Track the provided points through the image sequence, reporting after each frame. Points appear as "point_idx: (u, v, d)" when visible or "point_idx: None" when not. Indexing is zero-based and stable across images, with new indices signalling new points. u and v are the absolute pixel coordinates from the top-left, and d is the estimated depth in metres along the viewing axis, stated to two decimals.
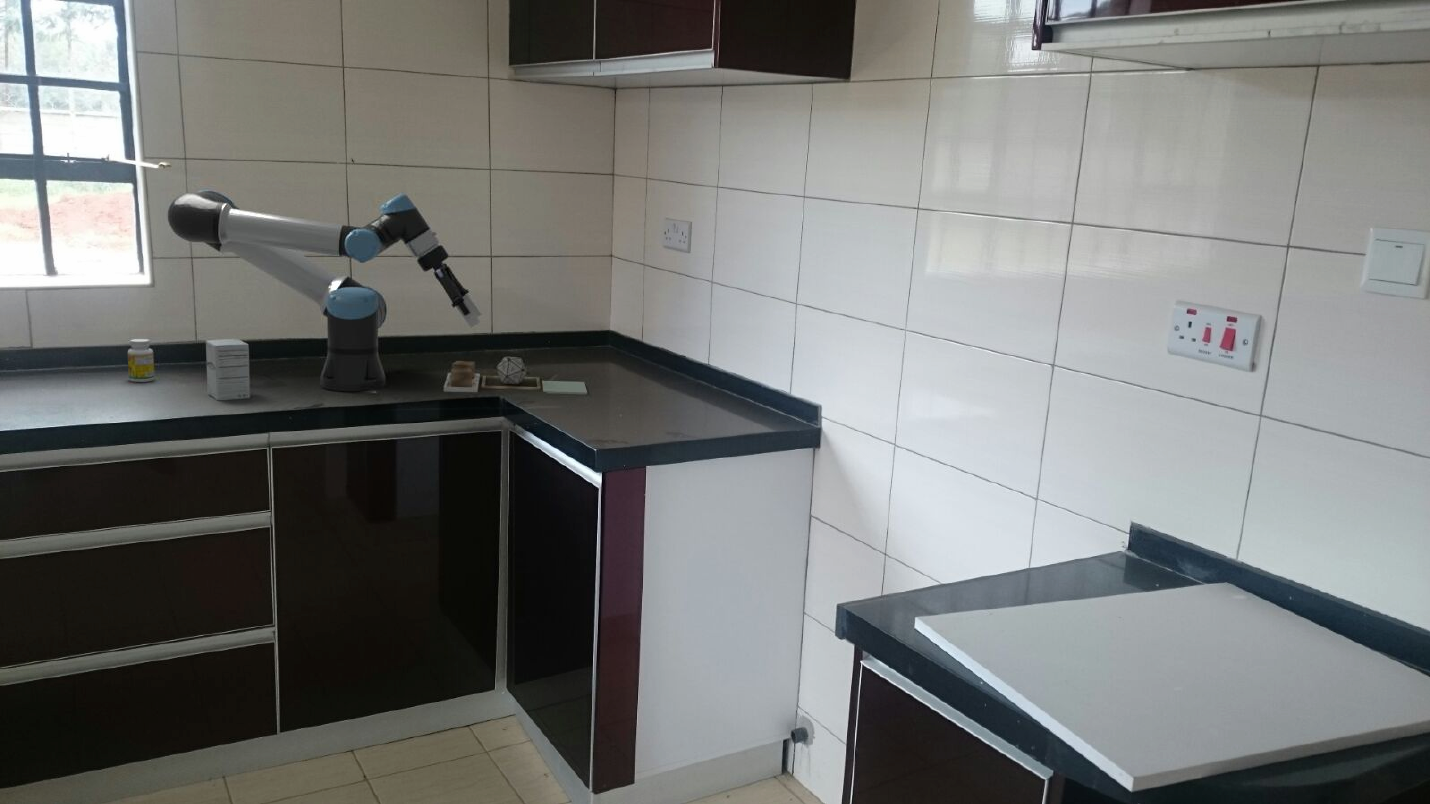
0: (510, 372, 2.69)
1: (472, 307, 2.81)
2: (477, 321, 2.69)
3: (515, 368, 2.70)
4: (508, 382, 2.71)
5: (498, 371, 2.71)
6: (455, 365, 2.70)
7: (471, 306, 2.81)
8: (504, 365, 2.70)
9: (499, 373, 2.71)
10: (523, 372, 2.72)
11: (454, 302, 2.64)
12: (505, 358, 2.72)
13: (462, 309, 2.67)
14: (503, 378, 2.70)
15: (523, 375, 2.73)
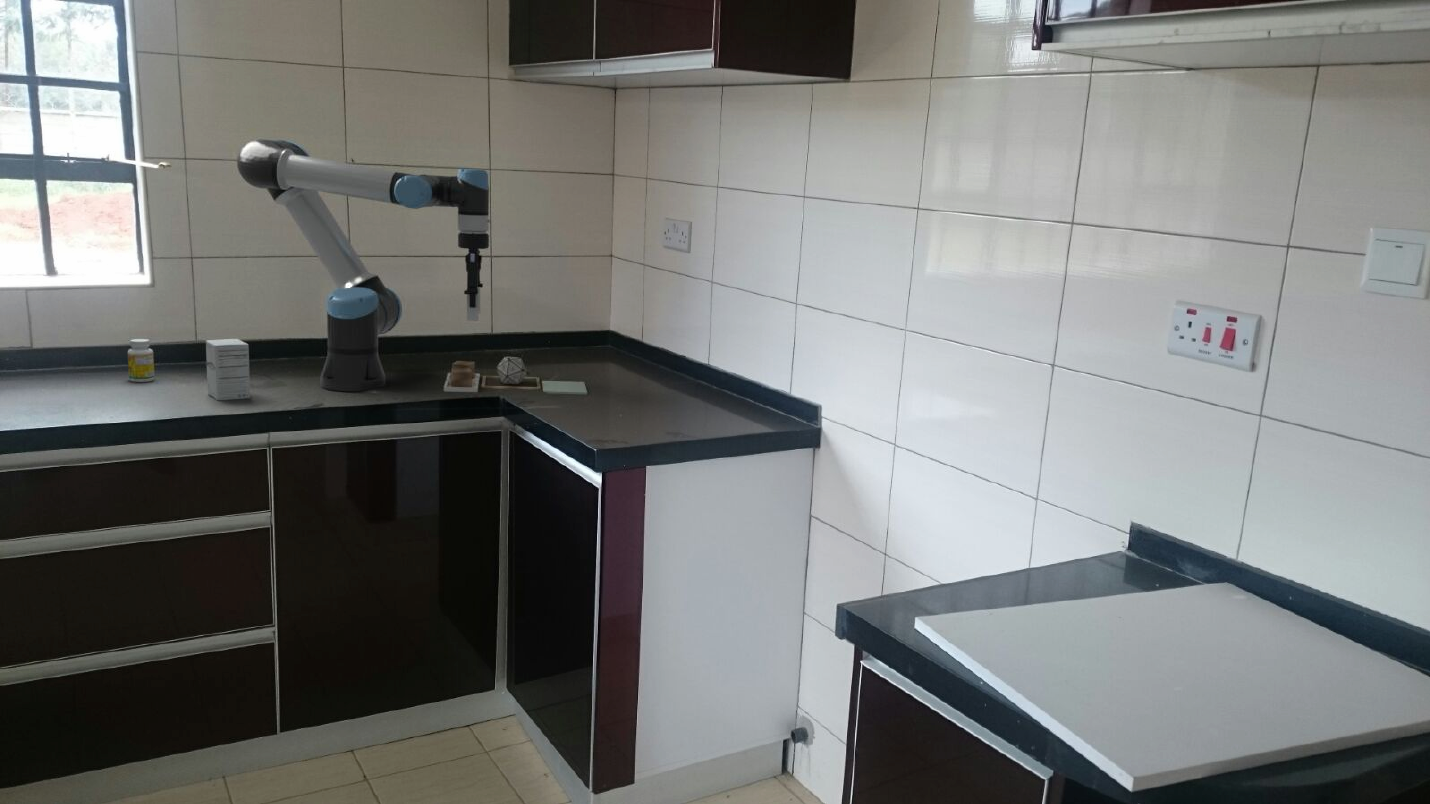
0: (510, 372, 2.69)
1: None
2: (476, 318, 2.63)
3: (515, 368, 2.70)
4: (508, 382, 2.71)
5: (498, 371, 2.71)
6: (455, 365, 2.70)
7: None
8: (504, 365, 2.70)
9: (499, 373, 2.71)
10: (523, 372, 2.72)
11: (468, 290, 2.58)
12: (505, 358, 2.72)
13: (471, 300, 2.61)
14: (503, 378, 2.70)
15: (523, 375, 2.73)
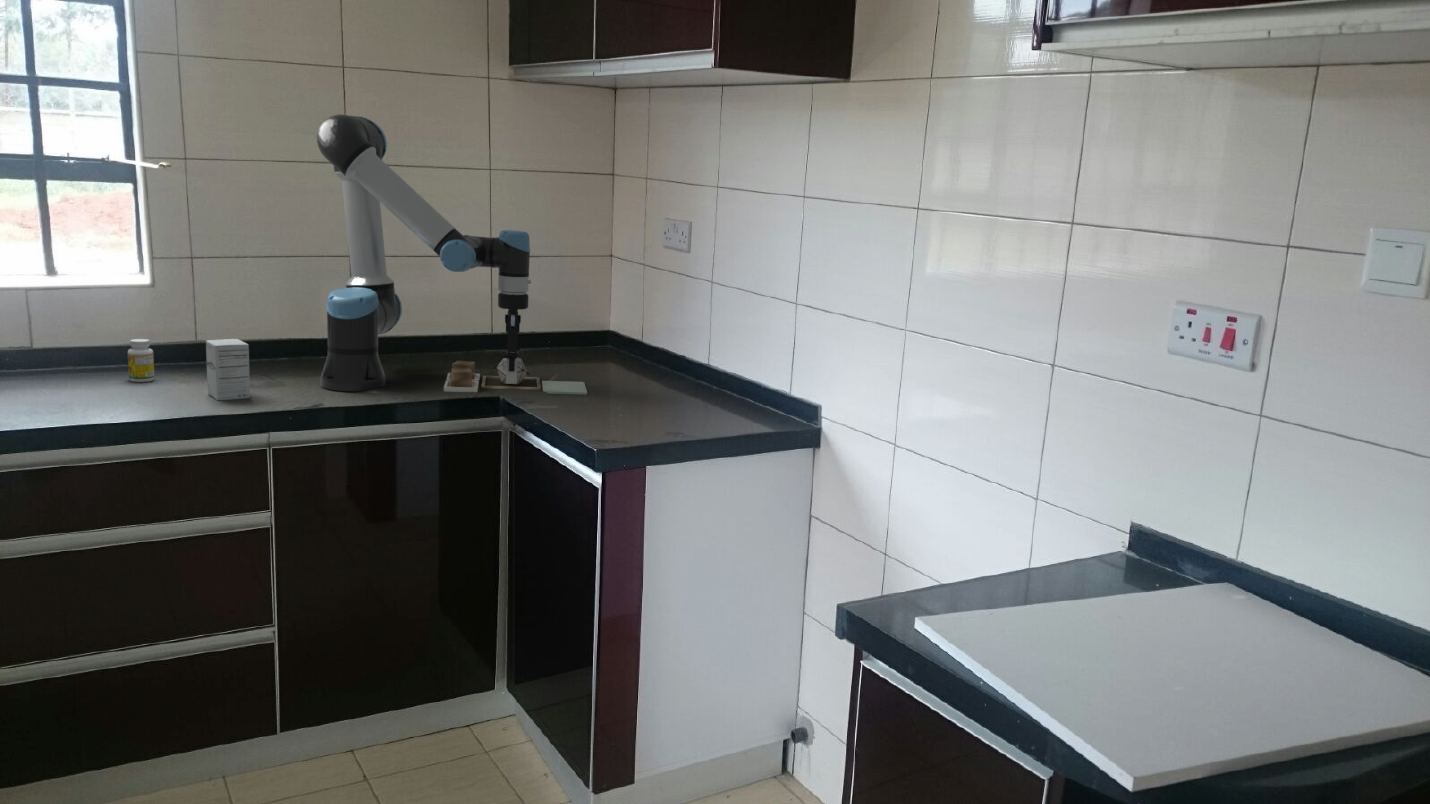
0: None
1: None
2: (515, 382, 2.68)
3: None
4: None
5: (498, 371, 2.71)
6: (455, 365, 2.70)
7: None
8: (504, 365, 2.70)
9: (499, 373, 2.71)
10: (523, 372, 2.71)
11: (508, 355, 2.63)
12: (505, 358, 2.72)
13: (510, 364, 2.66)
14: (503, 378, 2.70)
15: (523, 375, 2.73)
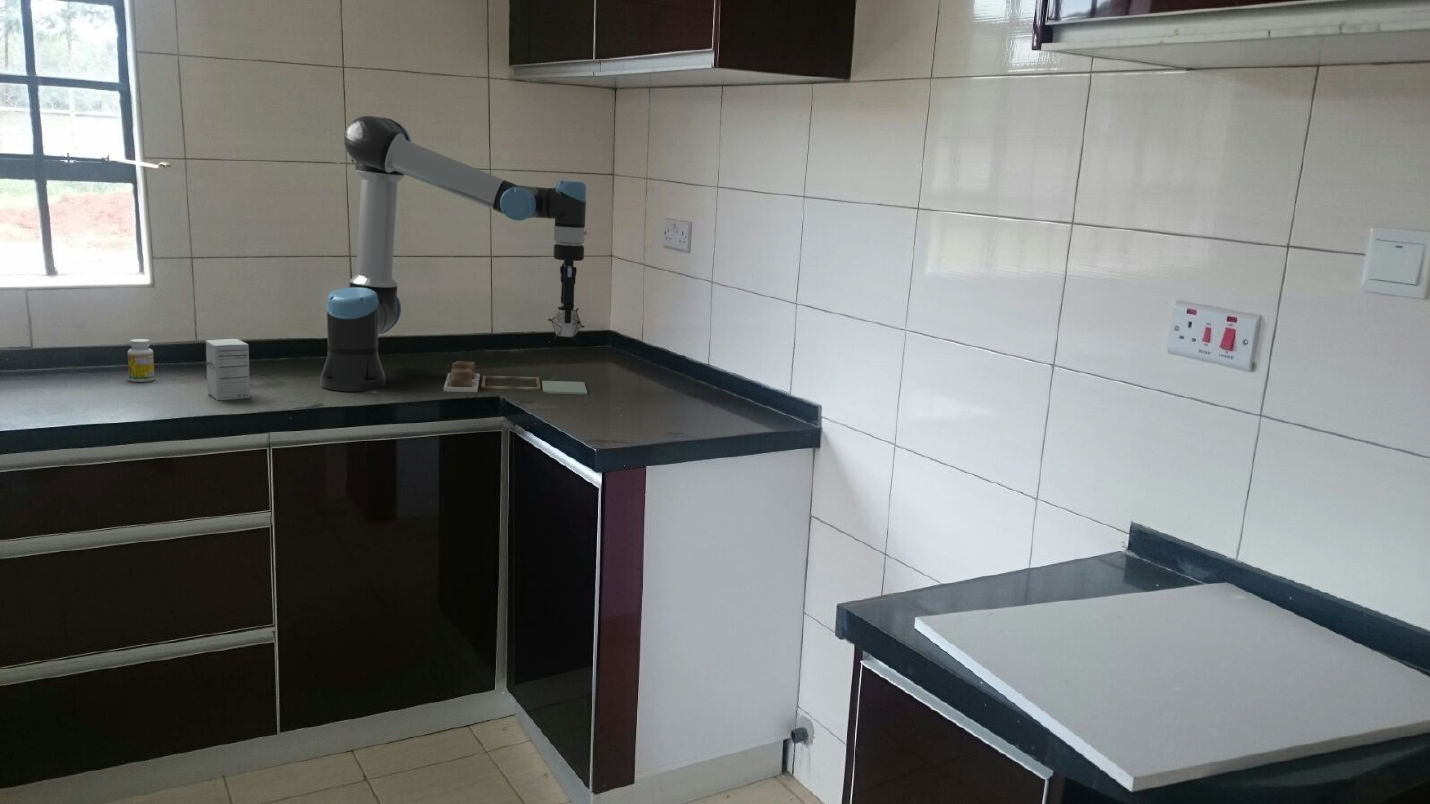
0: None
1: None
2: (570, 334, 2.66)
3: None
4: None
5: (553, 323, 2.68)
6: (455, 365, 2.70)
7: None
8: (560, 317, 2.67)
9: (554, 325, 2.68)
10: (578, 325, 2.69)
11: (565, 306, 2.61)
12: (560, 310, 2.69)
13: (566, 316, 2.63)
14: (558, 330, 2.68)
15: (578, 328, 2.70)
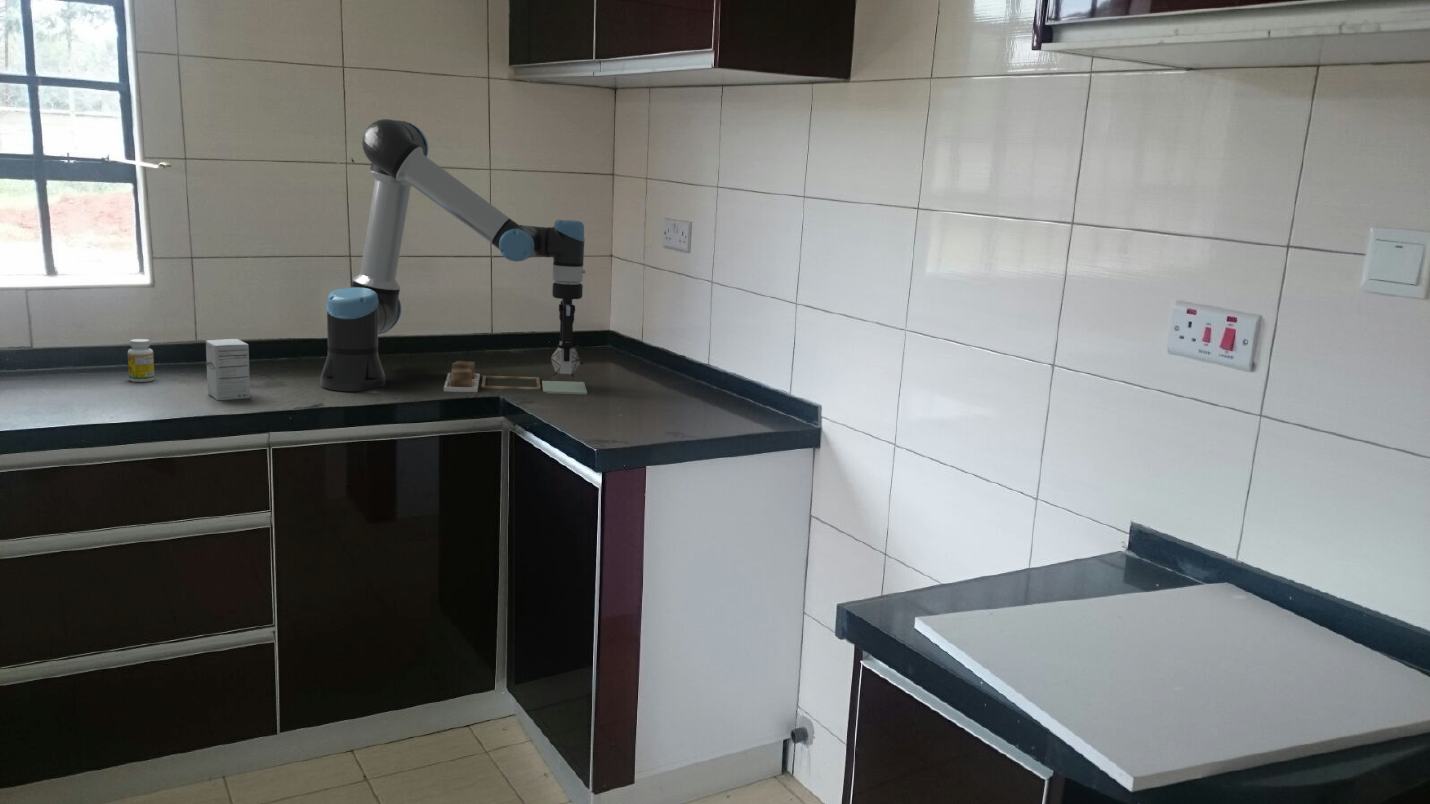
0: None
1: None
2: (569, 372, 2.68)
3: None
4: None
5: (552, 361, 2.70)
6: (455, 365, 2.70)
7: None
8: (559, 355, 2.69)
9: (553, 363, 2.70)
10: (577, 362, 2.71)
11: (564, 345, 2.63)
12: (559, 348, 2.71)
13: (565, 354, 2.66)
14: (557, 368, 2.70)
15: (577, 365, 2.72)
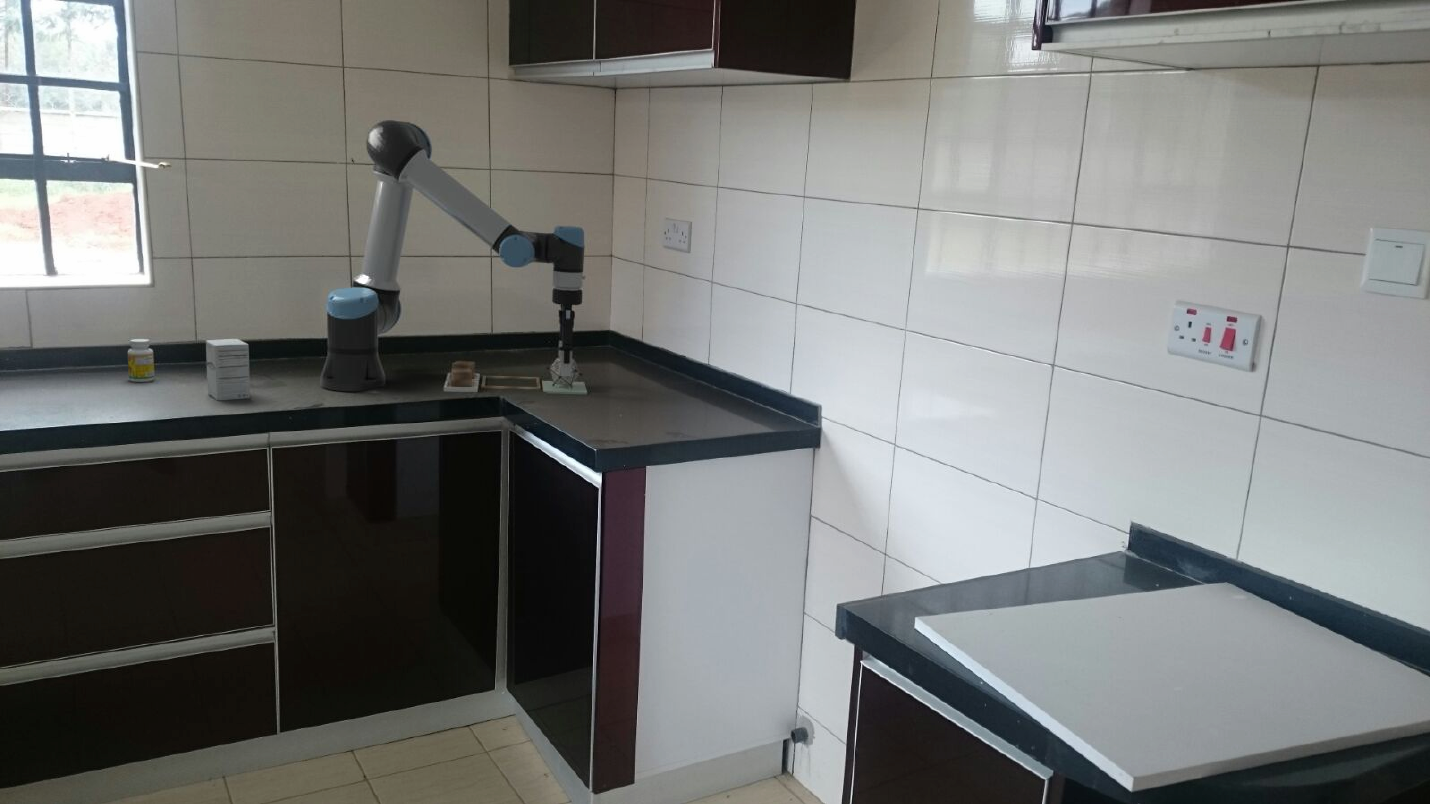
0: None
1: None
2: (569, 374, 2.66)
3: None
4: (561, 383, 2.72)
5: (551, 372, 2.71)
6: (455, 365, 2.70)
7: None
8: (557, 365, 2.70)
9: (552, 374, 2.71)
10: (576, 373, 2.72)
11: (564, 347, 2.61)
12: (558, 359, 2.72)
13: (565, 357, 2.64)
14: (556, 379, 2.71)
15: (576, 376, 2.73)
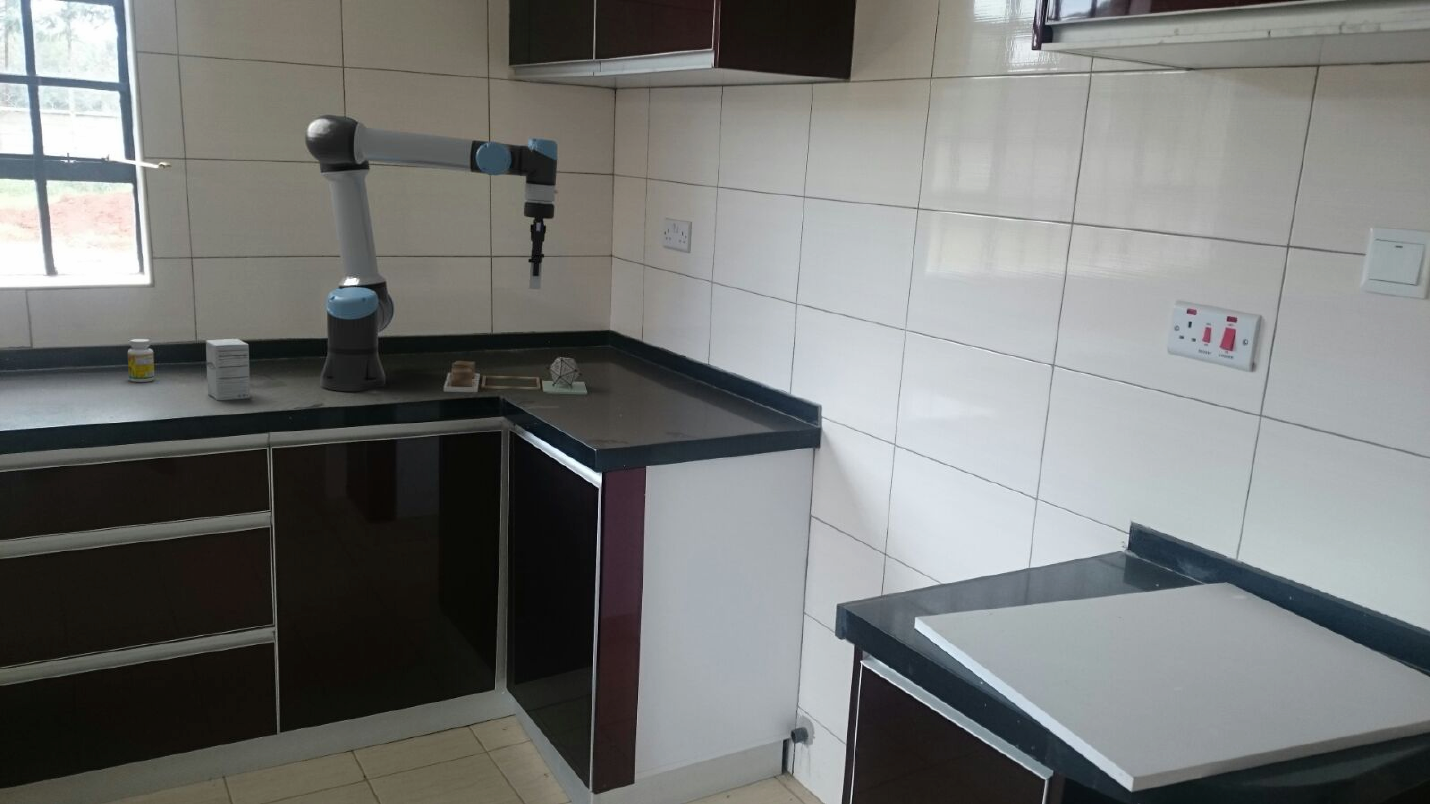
0: (562, 373, 2.70)
1: None
2: (538, 287, 2.66)
3: (568, 369, 2.70)
4: (561, 383, 2.72)
5: (551, 372, 2.71)
6: (455, 365, 2.70)
7: None
8: (557, 365, 2.70)
9: (552, 374, 2.71)
10: (576, 373, 2.72)
11: (533, 259, 2.61)
12: (558, 359, 2.72)
13: (534, 269, 2.63)
14: (556, 379, 2.71)
15: (576, 376, 2.73)
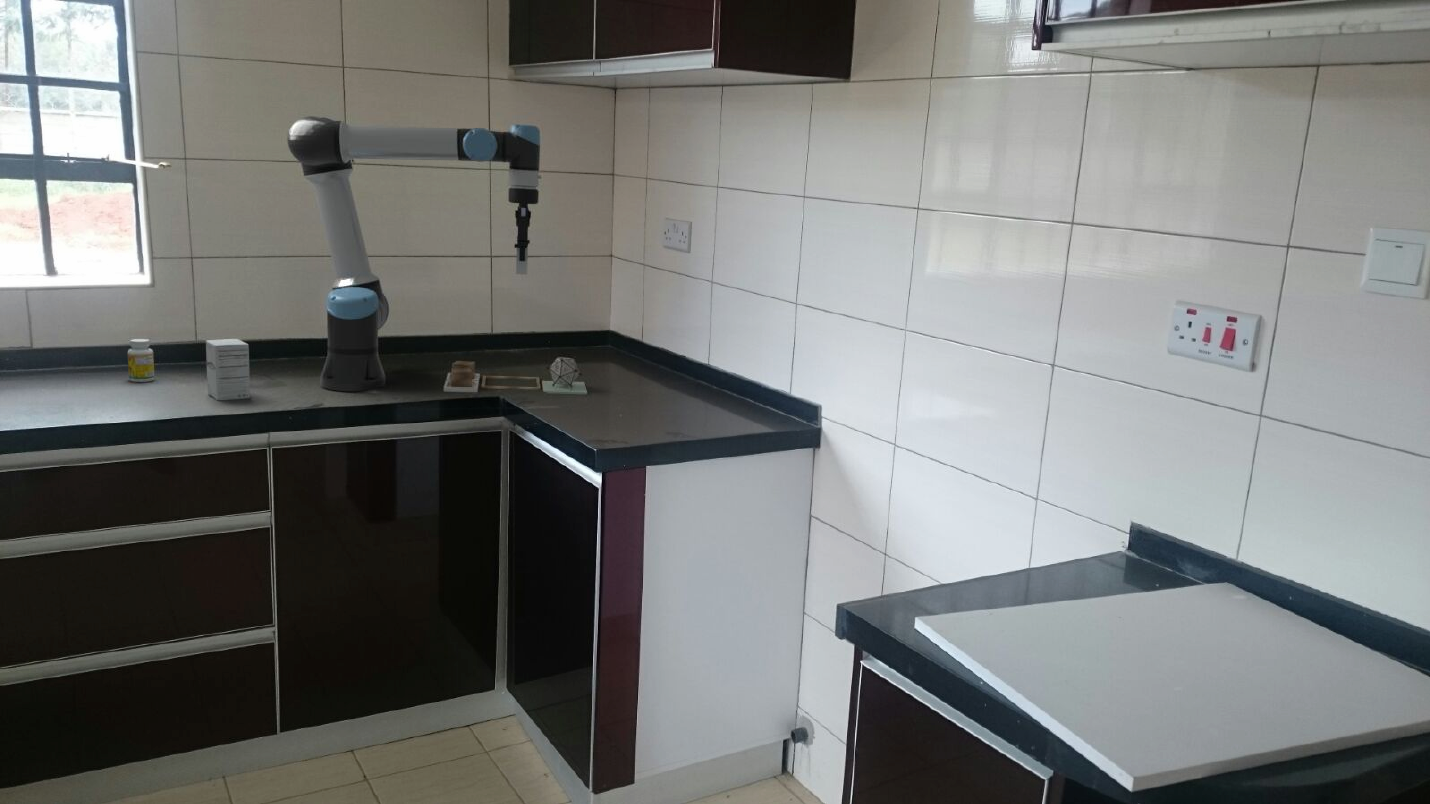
0: (562, 373, 2.70)
1: None
2: (525, 272, 2.67)
3: (568, 369, 2.70)
4: (561, 383, 2.72)
5: (551, 372, 2.71)
6: (455, 365, 2.70)
7: None
8: (557, 365, 2.70)
9: (552, 374, 2.71)
10: (576, 373, 2.72)
11: (519, 244, 2.63)
12: (558, 359, 2.72)
13: (520, 254, 2.65)
14: (556, 379, 2.71)
15: (576, 376, 2.73)
